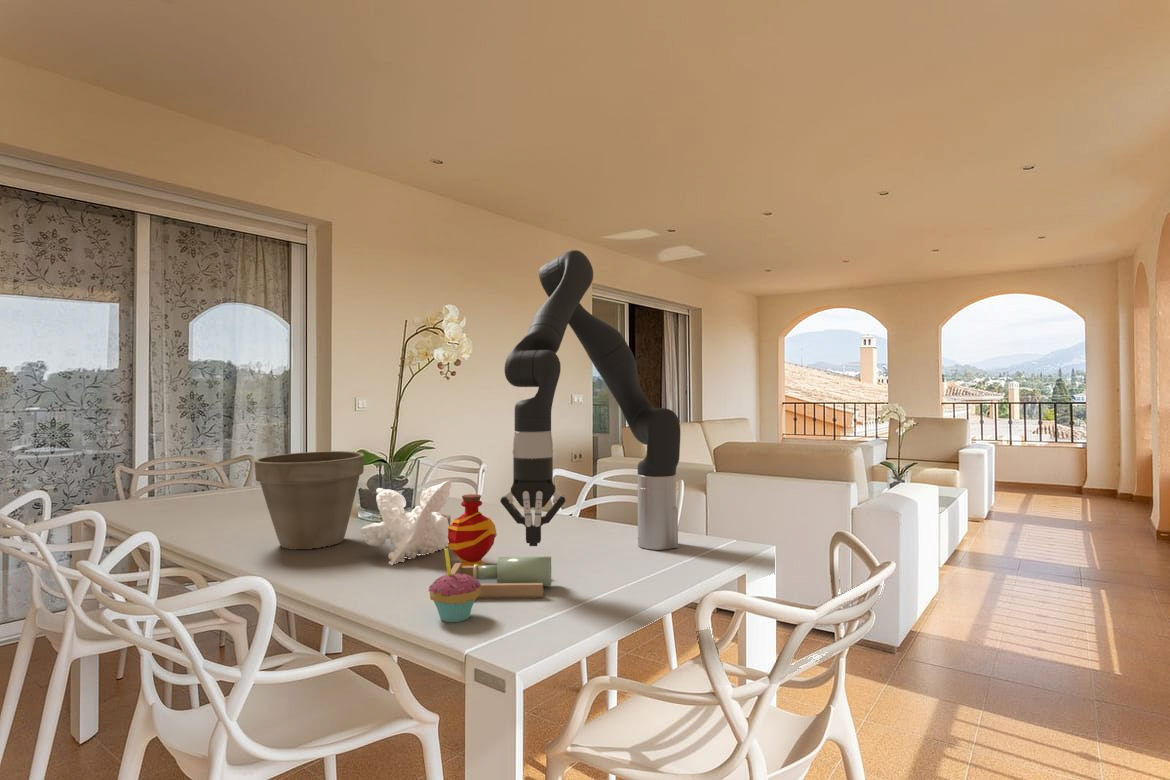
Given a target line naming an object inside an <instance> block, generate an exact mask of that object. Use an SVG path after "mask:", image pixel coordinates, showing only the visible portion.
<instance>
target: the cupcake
mask: <svg viewBox="0 0 1170 780" xmlns="http://www.w3.org/2000/svg"><path fill="white" fill-rule="evenodd" d="M444 545H445V549H444V559H445V565H446V572H447V574H444V575H442V576H440V577H438V578H437V579H435V580H434V581H433V582H432V584H430V585H429V587H428V592H429V598H430V601H431V600H432V601H433V602H434V605H435V607H436V610H437V612H438V615H439V619H440V620H441V621H442V622H445V623H458V622H459V623H460V622H463V621H467V619H469V617H470V616H471V612H472V608H473V605H474V603H475V601H476V600H477V599H476V598H477V597H478V596H479V595H480V594H481V592H482V588H481V584H480V582H479V581H478V580H477V579H475V578H473V577H472V576H469V575H467V574H462V573H461V574H452V573H451V569H452V568H451V567H452V565H451V559H450V553H449V552H450V551H449V547H447V546H446V544H444Z"/></svg>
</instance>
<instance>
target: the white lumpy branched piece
mask: <svg viewBox="0 0 1170 780" xmlns="http://www.w3.org/2000/svg"><path fill="white" fill-rule="evenodd" d="M451 488H452V481H451V480H446V481H443V482H442V483H439V484H436V485H433V486H430V487H427V489H425V490H423V491H422V492H421V495H420V497H419V504H420V505H416V506H415V508H413V509H412V510H411V512H410V511H408V512H405V509H404V508H405V507H406V505H407V501H406V498H405V497H404V495H402V494H401V493H399V492H398V491H396V490H392V489H389V488H387V489H385V488H382V487H378V488H376V489H375V492H376V494H377V495H376V497H375V500H376V501H375V502H376V504H377V509H378V510H379V514H380V515H381V517H382V520H383V521H384V522H381V523H380V522H373V523H371V524H366V525H364V526H362V527H361V528H360V529H359V530H360V533H361V537H362V538H363V541H364V542H365V543H366V544H367V545H368V546H371V547H373V546H374V547H382V546H384V545H385V544H386V540H389V539H390V540H389V544H390V545H391V546H392V548H393V551H390V552H389V553H388V559H389V561H388V563H389V564H395V563H397V562H403V561H405V562H406V559H408V558H414V559H416V558H417V556H416V555H417V554H421V555H422V554H423V555H424V554H427V553H432V554H435V553H436V552H439V551H438V550H440V551H443V550H442V549H445V545H444V544H446V547H448V543H449V540H448V527H449V524H448V520H447V519H446V518H445V517H444V516H440V515H441V514H442V513H441V510H442V509H443V508H444V507H445V505H446V504H447V501H448V498H449V496H450V492H451V491H450V489H451ZM435 551H436V552H435ZM427 555H428V554H427ZM404 557H407V558H405V559H404ZM403 563H404V562H403ZM389 564H388V565H389ZM397 564H398V563H397Z"/></svg>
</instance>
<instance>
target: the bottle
mask: <svg viewBox="0 0 1170 780" xmlns="http://www.w3.org/2000/svg"><path fill="white" fill-rule="evenodd" d="M497 558H498V559H497V564H490V565H489V564H488V565H487V564H484V565H478V564H474V568H473V578H475V579H477V580H478V578H497V583H543V586H544V587H551V586H552V556H549V555H548V556H499V557H497Z"/></svg>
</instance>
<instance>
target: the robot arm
mask: <svg viewBox="0 0 1170 780" xmlns="http://www.w3.org/2000/svg"><path fill="white" fill-rule="evenodd" d="M538 278H539V282H540V284H541V286H542V289H543V291H544V292H545V293H546V296H547V297H548V298H547V299H546V300H545V302H544V303H543V304H542V305H541V306H540V307H539V309H537V311H536V313H535V315H534V317H533V319H532V320H531V323H530V326H529V328H528V331H527V333H526V334H525V335H524V336H523V337H522V338H521V339H520V340H519V342H518V343H516V345H515V346H514V347H513V348H512V349H511V351H510V352H509V353H508V355H507V357H506V360H505V362H504V369H503V370H504V376H505V379H506V381H508V383H509V384H510V385H512V386H513V387H516V388H538V389H537V391H536V393H535V395H534V396H533V397H530V398H527V399H522V400H519V401H517V402H516V403H515V405H514V434H513V446H512V447H513V449H512V459H513V465H512V466H513V467H512V470H513V473H512V476H513V479H512V481H513V482H512V484H511V485H512V486H511V487H510V491H509V492H507V493H506V495H503V496H501V498H500V500H499V501H500V504H502V507H503V508H504V509H505V510H506V512H507V513H508V514H509V515H510V516H511V517H512V519H513V520H514V521H515V522H516V524H520V525H523V526H524V527H525V542H526V544H528V545H529V547H537V546H538V544H540V543H541V541H542V526H544V525H545V524H549V523H550V522H551V521H552V519H553V518H554V517H555V516H556V514H557V513H558V512H559V510H560V509H561V508H562V507H563V505H564V504H565V503H566V500H567V499H566V496H565V495H563V494H561V493H560V492H558V491H557V490H556V485H555V484H554V479H553V477H554V475H553V472H554V466H553V465H554V463H553V462H554V459H553V458H554V450H553V449H554V448H553V445H554V444H553V437H552V436H553V434H552V409H553V403H554V398H555V393H556V389H557V386H558V382H559V380H560V375H561V361H560V358H559V356H558V355H557V353H558V351H559V350H560V347H561V344H562V342H563V338H564V336H565V333H566V330H567V327H568V325H569V327H570V328H571V330H572V331H573V333H574V335H576V337H577V340H578V341H579V343H580V344H581V346H582V348H583V349H584V351H585V352H586V354H587V356H588V358H589V360H590V361H591V363H592V364H593V366H594V367H595V370H596V371H597V372H598V374H599V376H600V377H601V379H602V380H603V381H604V383H605V385H606V386H607V388H608V389H609V392H610V393H611V395H612V396H613V398H614V399H615V401H616V402H617V404H618V406H619V409H620V410H621V412H622V414H623V417H624V418H625V421H626V423H627V425H628V427H629V429H630V431H631V434H632V435H633V436H634V438H635V440H637V441H638V442H639V443H641V444H642V445H646V454H645V456H644V459H642V460H641V461H639V462H638V464H637V545H638V547H639V548H643V549H647V550H653V551H654V550H656V551H657V550H658V551H659V550H660V551H661V550H670V549H678V548H679V508H678V507H677V467H678V465H679V462H680V451H681V449H680V448H681V422H680V420H679V417H678V416H677V414H676V412H674V411H673V410H672V409H670V408H669V409H668V408H667V407H666V408H665V407H654V406H653V405H652V404H651V402H650V401H649V399H648V398H647V396H646V394H645V393H644V391H643V389H642V387H641V385H640V381H639V375H638V367H637V361H636V358H635V356H634V354H633V352H632V350H631V348H630V347H629V345H628V342H626V340H625V338H624V336H623V335H622V334H621V332H620V331H619V330H618V329H616V328H615V327H613V326H612V325H610V324H609V323H607V322H605V321H603V320H601V319H599V318H598V317H597V316H594V315H593V314H591V313H590V312H589V311H587V310H586V309H585V308H584V307H583V305H582V304H581V303H580V302H581V301H582V299H583V298H584V296H585V294H586V292H587V291H588V290H589V289H590V286H591V285H592V282H593V280H594V269H593V267H592V263H591V261H590V260H589V258H588V257H587V256H586V255H585V254H584V253H583V252H582V251H581V250H577V249H576V250H574V249H572V250H568V251H566V252H564V253H562V254H560V255H559V256H557V257H555V258H553V259H551V260H550V261H548V262H546V263H545V264H543V265H542V266H540V268H539V271H538ZM552 497H553V499H552V504H553V505H552V506H551V507H550V508H549V510H548V511H547V512H546V514H545V515H542V512H543V508H544V507H545V506H546V505H547V504H548V503H549V501H550V500H551V498H552ZM514 498H515V499H514ZM515 500H516V501H517V503H518V504H519V505H520V507H522V508H523V512H524V513H523V515H522V514H521V512H520V511H519V510H518V508H517V507H516V505H515V504H514V502H515ZM532 508H534V522H533V512H532V511H533V509H532Z"/></svg>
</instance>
